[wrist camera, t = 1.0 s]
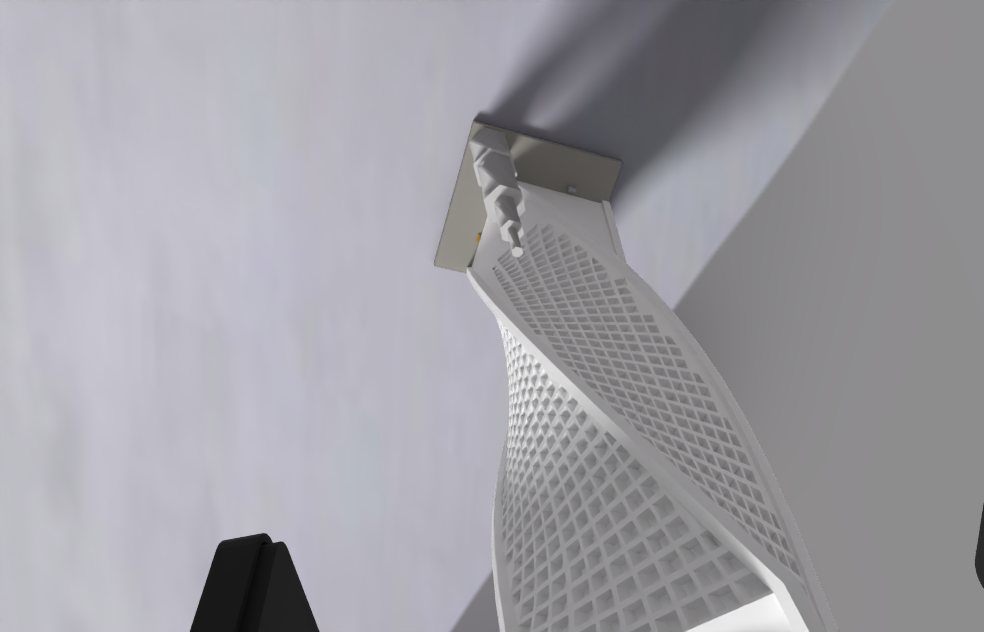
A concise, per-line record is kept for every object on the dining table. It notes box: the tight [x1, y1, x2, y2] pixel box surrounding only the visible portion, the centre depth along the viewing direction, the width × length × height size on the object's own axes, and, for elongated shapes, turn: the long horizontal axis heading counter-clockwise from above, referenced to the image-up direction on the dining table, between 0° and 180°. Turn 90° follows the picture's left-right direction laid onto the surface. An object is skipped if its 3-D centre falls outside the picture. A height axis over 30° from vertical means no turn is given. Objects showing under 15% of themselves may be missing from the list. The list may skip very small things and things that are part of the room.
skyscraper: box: [434, 120, 839, 632], centre depth 25 cm, size 8×8×28 cm
